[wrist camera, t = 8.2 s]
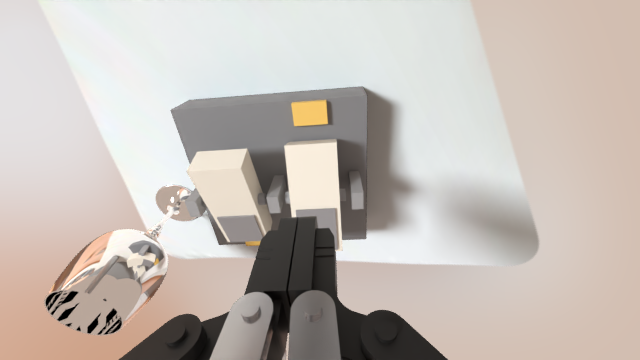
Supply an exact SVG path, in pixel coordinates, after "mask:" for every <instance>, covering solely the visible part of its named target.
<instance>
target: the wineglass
mask: <svg viewBox="0 0 640 360" xmlns="http://www.w3.org/2000/svg"><path fill="white" fill-rule="evenodd" d="M191 193H192V192H191V191H190V190H188V189H187V188H185V187H182V186H179V185H166V186H163V187H162V188H160V189H159V190H158V192H157V194H156V203H157V206H158V207H159V209H160V210H161V211H162V212H163V213H164V214H165V216H164V217H163V219H162V220H161V221H160V222H159V223H157V224H156V225H155V226H153V227H151V228H150V229H149V230H148V231H147V232H146V233H145V232H142V231H138V230H133V229H121V230H115V231H111V232H108V233H105V234H103V235H101V236H99V237H98V238H96V239H95V240H93V241H92V242H90V243H89V244H88V245H86V246H85V247H84V248H83V249H82V250H81V251H80V252H79V253H78V254H77V255H76V256H75V257H74V258H73V259H72V261H71V262H70V263H69V264H68V266H67V267H66V268H65V269H64V271H63V272H62V273H61V274H60V276H59V277H58V279H57V280H56V281H55V283H54V285H53V286H52V288H51V289H50V291H49V292H48V294H47V295H46V297H45V300H44V305H45V308H46V310H47V311H48V313H49V314H50V315H51V316H52V317H53V318H54V319H56V320H57V321H58V322H60V323H62V324H63V325H65V326H67V327H69V328H71V329H73V330H76V331H79V332H82V333H86V334H91V335H111V334H114V333H117V332H118V331H120V330H121V329H122V328H123V327H124V326H125V325H126V324H127V323H128V322H129V321H130V320H131V319H132V318H133V317H135V316H136V315H137V313H138V312H139V311H140V310H141V309H142V308H143V307H144V306H145V305H146V304H147V303H148V302H149V300H150V299H151V298H152V297H153V296H154V294H155V293H156V291H157V290H158V288H159V287H160V285H161V284H162V282H163V280H164V277H165V275H166V273H167V269H168V257H167V253H166V250H165V248H164V247H163V245H162V244H161V243H160V242H159V241H158V240H157V239H156V238H157V237H159V235H160V233H161V230H162V228H163V226H164V224H165V223H166V222H167V220H168V219H169V218H172V219H174V220H178V221H190V220H193V219H195V218H196V217H190V214H189V212H188V209H187V207H186V204H185V200H186V199H187V198H188V197H189V196H190V194H191Z"/></svg>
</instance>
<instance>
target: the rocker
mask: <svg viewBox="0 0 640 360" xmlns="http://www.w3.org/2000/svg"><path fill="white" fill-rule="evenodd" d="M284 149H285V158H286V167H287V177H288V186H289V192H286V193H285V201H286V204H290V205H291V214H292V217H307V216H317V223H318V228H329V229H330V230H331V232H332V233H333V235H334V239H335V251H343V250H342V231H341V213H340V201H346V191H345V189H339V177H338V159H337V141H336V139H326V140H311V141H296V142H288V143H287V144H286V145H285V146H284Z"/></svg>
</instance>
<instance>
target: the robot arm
mask: <svg viewBox="0 0 640 360" xmlns="http://www.w3.org/2000/svg"><path fill="white" fill-rule="evenodd" d="M288 333H289V352H288V360H448V359H447V358H445V357H444V356H443V355H442V354H441V353H440V352H439V351H438V350H437V349H436V348H434V347H433V346H432V345H431V344H430V343H429V342H428V341H427V340H426V339H425V338H423V337H422V336H421V335H420V334H419V333H418V332H417V331H416V330H414V329H413V328H412V327H411V326H410V325H409V324H408V323H407V322H406V321H405V320H404V319H403V318H401V317H400V316H399V315H397V314H396V313H394V312H391V311H387V310H377V311H374V312H372V313H370V314H368V315H367V316H366V315H363V314H360V313H357V312H354V311H351V310H349V309H348V308H346V307H345V306H344V305H343V304H342V303H341V302H340V301H339V299H338V297H337V270H336V252H335V239H334V235H333V233H332V232H331V230H330V229H329V228H318V223H317V216H307V217H288V218H281V219H280V222H279V226H278V230H272V231H268V232H267V233H266V235H265V236H264V237H263V238H262V239H261V242H260V245H259V249H258V252H257V255H256V260H255V262H254V265H253V269H252V272H251V275H250V278H249V282H248V285H247V288H246V291H245V294H244V296H242V297H241V298H239V299H238V300H237V301H236V302H235V303H234V304H233V306H232V307H231V309H230V311H229V312H227V313H225V314H223V315H221V316H218V317H215V318H212V319H209V320H206V321H203V322H201V321H200V320H199V318H198V317H197V316H195V315H192V314H183V315H179V316H177V317H174V318H173V319H171V320H170V321H168V322H167V323H165V324H164V325H163V326H161V327H160V328H159V329H158V330H156V331H155V332H154V333H152V334H151V335H150V336H149V337H148V338H146V339H145V340H143V341H142V342H141V343H140V344H138V345H137V346H136V347H134V348H133V349H132V350H131V351H129V352H128V353H127V354H126V355H124V356H123V357H122V358H120V359H119V360H286V341H287V334H288Z"/></svg>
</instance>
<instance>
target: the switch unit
mask: <svg viewBox="0 0 640 360" xmlns="http://www.w3.org/2000/svg"><path fill="white" fill-rule="evenodd" d="M171 113H172V116H173V119H174V121H175V124H176V127H177V130H178V132H179V135H180V138H181V141H182V143H183V146H184V149H185V152H186V155H187V157H188V160H189V163H190V164H191V162H192V160H193V158H194V157H195V155H196V153H197V152H200V151H216V150H231V149H248V152H249V155H250V158H251V160H252V163H253V166H254V169H255V172H256V175H257V178H258V181H259V184H260V186H261V189H262V192H263V193H266V196H267V197H266V198H267V203H266V204H267V207H268V210H269V213H270V215H271V218H272V226H271V231H272V230H278V226H279V222H280V219H281V218H288V217H292V214H291V205H290V204H286V201H285V193H286V192H289V186H288V177H287V167H286V158H285V149H284V146H285V145H286V144H287V143H288V142H296V141H311V140H326V139H336V141H337V159H338V177H339V189H345V191H346V201H340V213H341V231H342V240H354V239H366V202H367V94H366V92H365V90H364V88H363V87H350V88H337V89H324V90H311V91H298V92H286V93H273V94H260V95H247V96H235V97H222V98H209V99H196V100H189V101H187V102H185V103H183V104H181V105H179V106H177V107H175V108H174V109H172V110H171ZM185 204H186V207H187V209H188V212H189V214H190V217H201V216H202V215H203V213H204V212H205V210H207V213H208V215H209V218H210V221H211V224H212V226H213V229H214V232H215V235H216V238H217V240H218V243H219V245H228V244H246V246H258V245H260V242H261V241H249V242H228V241H227V240H226V238H225V236H224V235H223V233H222V231H221V230H220V228H219V226H218V224H217V223H216V221H215V219H214V218H213V216H212V214H211V213H210V211H209V209H208V207H207V206H206V204H205V202H204V201H203V199H202V197H201V196H200V194H199V192H198V190H197V189H196V188H195V190H194V191H193V192H192V193H191V194H190V196H189V197H188V198H187V199H186V200H185Z"/></svg>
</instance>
